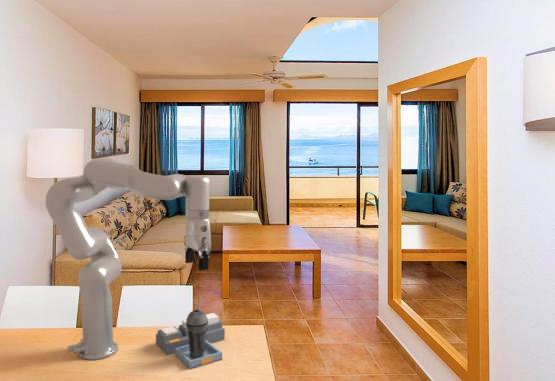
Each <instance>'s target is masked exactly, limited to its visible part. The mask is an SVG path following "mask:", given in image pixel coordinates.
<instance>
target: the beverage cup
mask: <svg viewBox="0 0 555 381" xmlns="http://www.w3.org/2000/svg"><path fill="white" fill-rule="evenodd" d="M201 297H202V296H199V297H198V304H197V309H194V310H191V311H190V313H188V315H187V316H186V319H187V320H186V326H187V330H188V339H189V350H190V357H191V358H193V359H197V358H200V357H203V356H204V351H205V340H206V329H207V324H208V319H207V316H206V313H205V312H204V311H203V310H201V309H200V306H201Z"/></svg>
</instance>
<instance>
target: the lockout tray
mask: <svg viewBox="0 0 555 381" xmlns="http://www.w3.org/2000/svg"><path fill="white" fill-rule="evenodd" d="M174 355H175V357H176V358H177V359H178V360H179V361H181V362H182V363H183V365H184V366H186V368H188V369H189V370H192V369H196V368H199V367H203V366H206V365H210V364H212V363H215V362H219V361H222V360H223V352H222V351H221V350H220V349H219V348H217V347H216V346H215V345H213V343H209V342H208V341H207V340H205V351H204V356H203V357H200V358H197V359H193V358H191V357H190V350H189V345H185V346H181V347H178V348H175V354H174Z"/></svg>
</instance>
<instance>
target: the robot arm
mask: <svg viewBox="0 0 555 381" xmlns="http://www.w3.org/2000/svg"><path fill="white" fill-rule="evenodd" d="M82 173H83V174H81V175H80V176H76V177H69V178H64V179H61V180H58V181H55V183H53V184H52V185H51V186H50V187H49V188H48V190H47V192H46V196H45V208H46V211H47V213H48V215H49V217H50V218H51V220H52V222H53V223H54V225H55V227H56V229H57V231H58V233H59V235H60V238H61V239H62V241H63V243H64V245H65V247H66V249H67V251H68V253H69V255H70V256H71V257H72V258H73V259H75V260H76V261H77V260H78V261H83V260H87V259H89V258H90V261H89V262H87V263H85V264H84V265H83V266H82V267H81V269H80V270H79V272H78V275H77V281H78V282H77V283H78V286H79V291H80V292H79V293H80V297H81V300H80V301H81V322H82V324H81V326H82V338H80V342H77V343H76V344H70V345H67V352H73V353H74V354H75V353H77V354H78V356H79V357H80V358H81V359H85V360H92V361H93V360H101V359H106V358H109V357H110V356H113V355H114V354H116V353H117V351H118V350H119V344H118V343H117V342H115V341H114V332H113V330H114V329H113V328H114V327H113V326H114V325H113V323H114V321H113V298H112V293H111V290H110V287H109V284H111V282H113V281H114V280H116V279H117V278H118V277H119V276H120V275H121V273H122V271H123V270H122V269H123V266H122V261H121V258H120V257H119V255H118V252H117V251H116V249H115V247H114V244H113V243H112V241H111V239H110V236H109V235H108V234H107V233H106V231H105V230H103V229H101V228H100V227H98V226H89V227H88V226H87V223H86V221H85V219H84V217H83V215H82V214H81V213H80V211H78V209H77V208H75V206H74V205H75V204H77V203H81V202H86V201H88V200H91V199H92V198H94V197H96V196H97V195H98V194H100V193H102V192H103V191H104V190H106V189H107V188H110V189H115V190H121V191H126V192H130V193H132V194H136V195H139V196H142V197H145V198H151V199H156V200H163V201H171V200H175V199H177V198H181V197H185V220H186V221H185V228H184V229H185V232H184V236H183V239H184V251H185V255H184V258H185V261H184V262H185V264H193V263H195V262H196V259H195V258H196V252H198V255H199V258H198V270H199V271H206V270H209V267H210V266H209V258H210V255H211V250H212V238H211V235H212V234H211V224H210V220H209V219H210V190H211V189H210V188H211V186H210V185H211V184H210V183H211V182H210V178H209V177H207V176H205V175H185V174H180V173H174V174H168V175H162V174H155V173H151V172H146V171H143V170H141V169H139V167H138V166H136V165H133V164H128V163H122V162H117V161H116V160H115V159H112V158H96V159H92V160H90V161H89V162H87V163H86V165H84V167H83V172H82Z"/></svg>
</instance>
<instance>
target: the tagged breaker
mask: <svg viewBox="0 0 555 381" xmlns="http://www.w3.org/2000/svg"><path fill="white" fill-rule="evenodd" d="M174 327H175V326H170V327H166V328H162V329H160V330H161V332H162V333H163V334H164V335H165V336H166V335H170V334H174V333H178V330H177V329H178V328H177V329H175V328H174Z"/></svg>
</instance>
